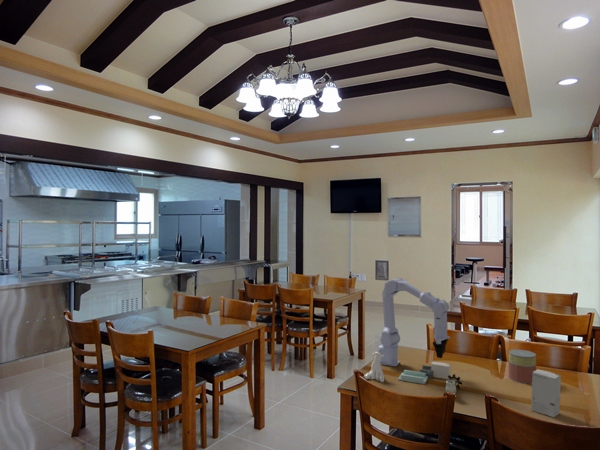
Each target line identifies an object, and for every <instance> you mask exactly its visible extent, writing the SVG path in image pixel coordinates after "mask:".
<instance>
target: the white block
mask: <svg viewBox="0 0 600 450" xmlns="http://www.w3.org/2000/svg"><path fill="white" fill-rule="evenodd" d="M430 366H431V371H433V378H437V379H443V380H447V379H448V380H449V378H448V375H450V376H451V363H445V362H439V361H432V362H431V364H430Z"/></svg>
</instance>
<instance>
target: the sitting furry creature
mask: <svg viewBox="0 0 600 450" xmlns="http://www.w3.org/2000/svg"><path fill="white" fill-rule="evenodd" d="M383 357H384V355H382V356H381V354H380V353H378V351H376V352H372V356H371V358H372V359H371V360H372V362H371V365H370V368H371V369H370V371H368V372H366V373H365V374H364V375H363V378H364V377H365V378H366V379H367V380H373V379H374V380H375V379H376V380H375V381H380V382H381V383H384V381H385V376H384V372H383V369H382V364H381V363H380V361H381V359H382V358H383ZM366 379H365V380H366Z"/></svg>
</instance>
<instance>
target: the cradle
mask: <svg viewBox="0 0 600 450" xmlns="http://www.w3.org/2000/svg"><path fill="white" fill-rule="evenodd" d="M397 378H398V379H397V380H398V381H403V382H409V383H415V384H420V385H426V383H427V382H428V380H429V377H427V376H426V373H423V372H420V371H416V370H415V371H414V370H408V369H404V370H403V372H401V374H399V377H397Z"/></svg>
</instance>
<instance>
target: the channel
mask: <svg viewBox="0 0 600 450" xmlns="http://www.w3.org/2000/svg"><path fill="white" fill-rule="evenodd" d="M419 372H423V373H426V376H427V377H428V378H430V379H434V377H433V371H431V365H425V364H423V365H422V367H421V368H420V369H419Z"/></svg>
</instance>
